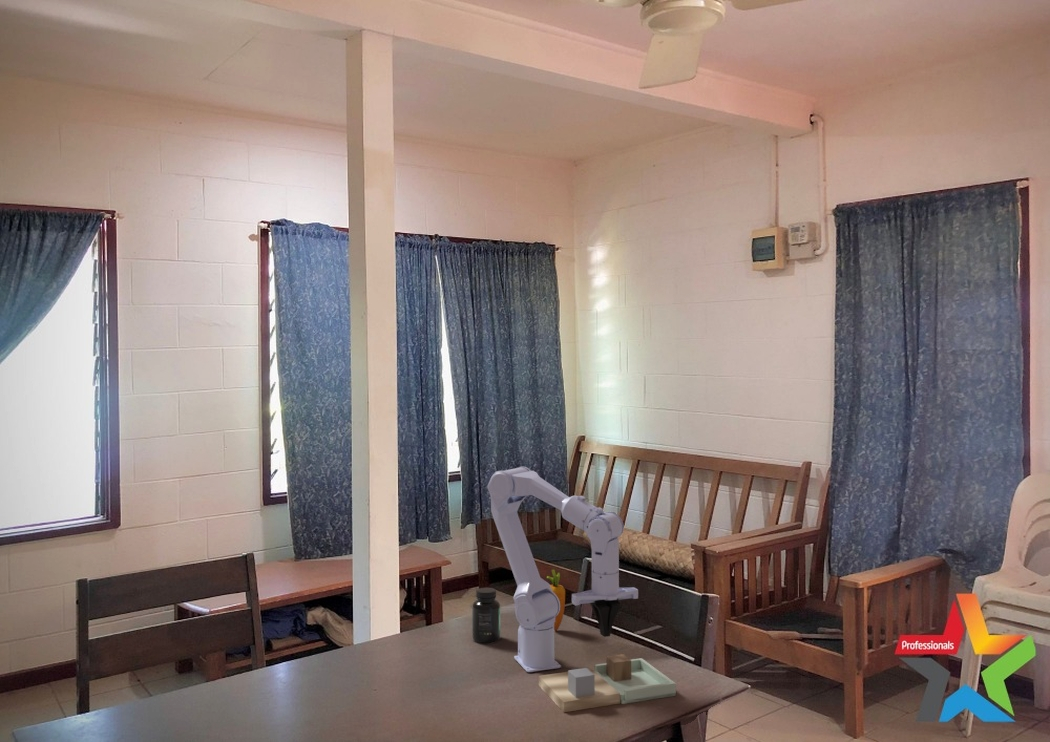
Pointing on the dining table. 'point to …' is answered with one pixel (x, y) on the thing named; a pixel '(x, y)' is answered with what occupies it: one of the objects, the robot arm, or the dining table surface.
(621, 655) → the walnut block
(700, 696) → the dining table surface
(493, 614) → the supplement bottle
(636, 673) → the box
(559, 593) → the carrot
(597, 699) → the birch plate
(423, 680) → the dining table surface
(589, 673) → the slate block
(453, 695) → the dining table surface
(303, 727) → the dining table surface
